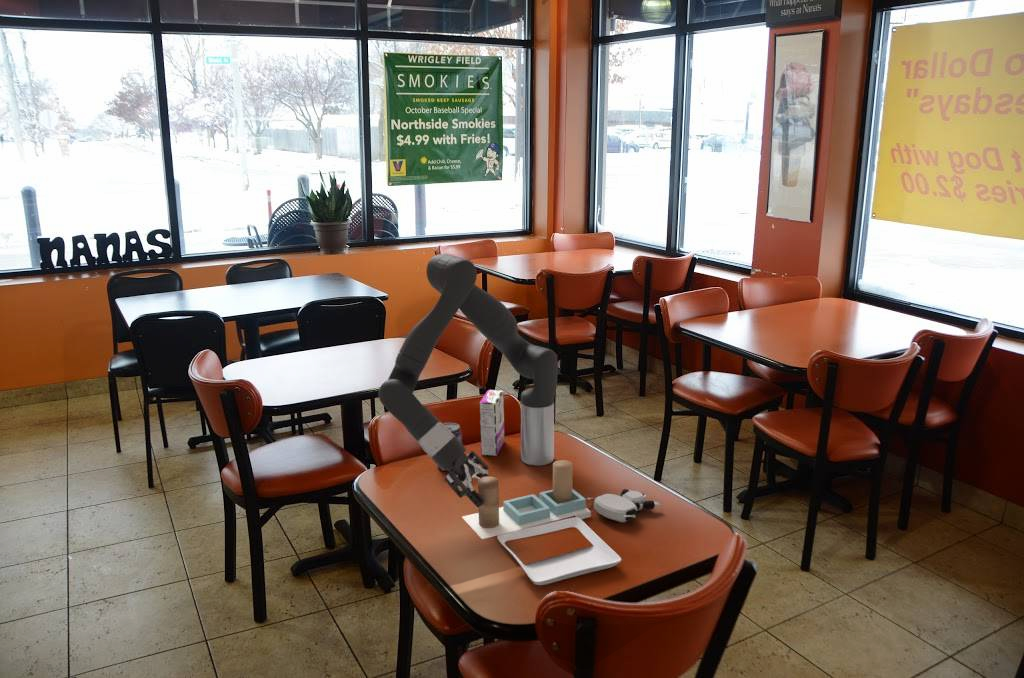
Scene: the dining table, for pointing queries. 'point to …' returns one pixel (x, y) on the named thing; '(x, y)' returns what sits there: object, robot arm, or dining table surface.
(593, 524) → the dining table surface
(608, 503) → the robot toy
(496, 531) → the base board
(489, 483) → the walnut column
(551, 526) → the salad plate
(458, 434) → the beverage can
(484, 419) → the candy bar box
